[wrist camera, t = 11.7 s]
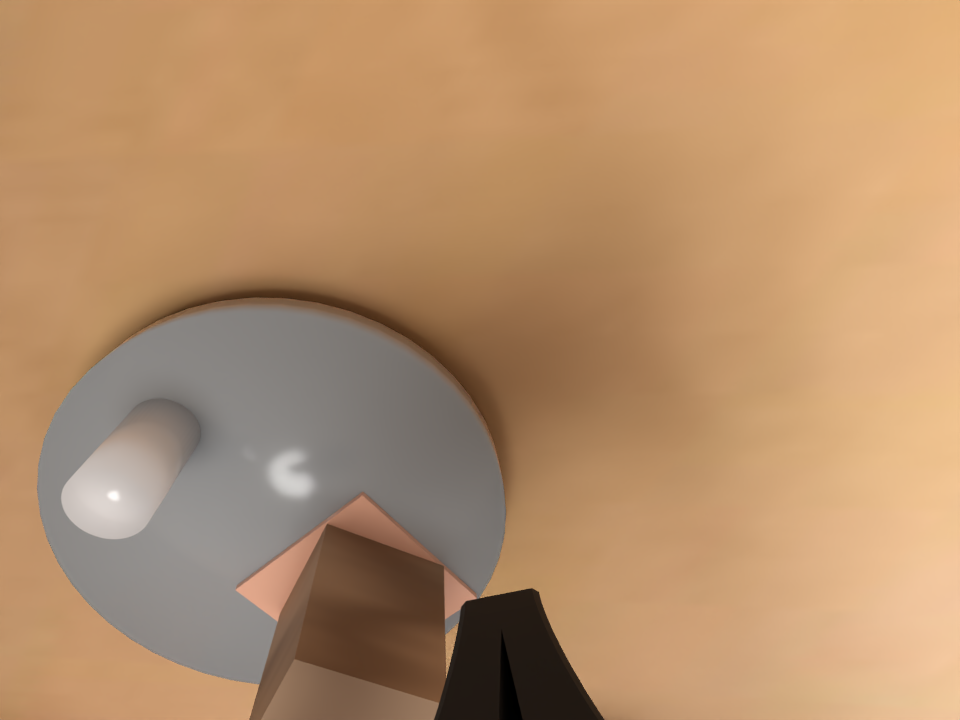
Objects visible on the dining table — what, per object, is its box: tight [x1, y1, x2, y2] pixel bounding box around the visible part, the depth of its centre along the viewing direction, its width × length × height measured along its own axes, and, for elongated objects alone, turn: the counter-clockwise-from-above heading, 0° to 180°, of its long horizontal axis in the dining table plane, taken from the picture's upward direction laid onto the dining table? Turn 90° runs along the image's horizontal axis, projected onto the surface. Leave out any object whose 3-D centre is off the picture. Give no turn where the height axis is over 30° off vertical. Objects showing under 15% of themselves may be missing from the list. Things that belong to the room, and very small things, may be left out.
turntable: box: [37, 297, 506, 684], centre depth 19 cm, size 14×14×5 cm
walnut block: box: [250, 524, 446, 720], centre depth 19 cm, size 4×4×5 cm
